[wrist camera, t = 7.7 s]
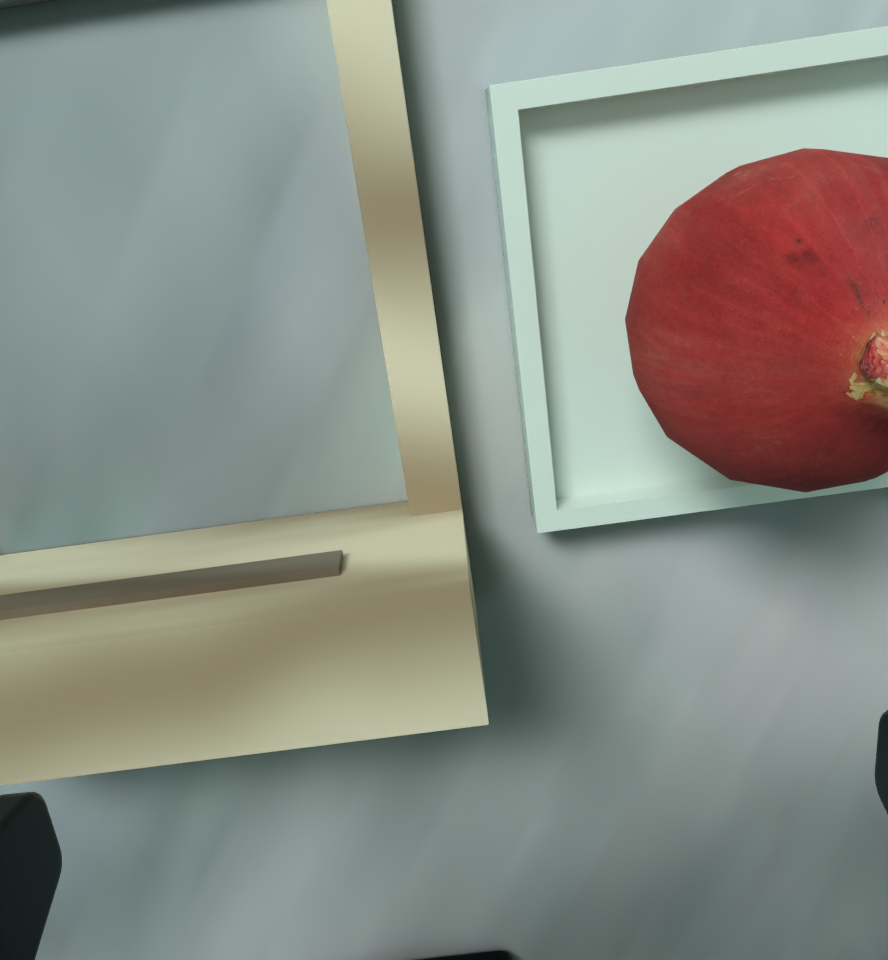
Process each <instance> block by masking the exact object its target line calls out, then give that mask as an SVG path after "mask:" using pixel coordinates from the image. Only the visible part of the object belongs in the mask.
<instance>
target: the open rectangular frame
mask: <svg viewBox="0 0 888 960" xmlns="http://www.w3.org/2000/svg"><path fill="white" fill-rule="evenodd" d="M46 1H53V0H0V9H1V8H7V7H14V6H20V5H27V4H33V3H40V2H46ZM326 2H327V8H328V14H329V20H330V26H331V32H332V39H333V45H334V51H335V57H336V63H337V69H338V75H339V81H340V87H341V93H342V100H343V106H344V112H345V118H346V124H347V130H348V136H349V142H350V148H351V155H352V161H353V167H354V173H355V179H356V185H357V191H358V197H359V203H360V209H361V216H362V222H363V228H364V234H365V240H366V246H367V252H368V258H369V264H370V271H371V277H372V283H373V289H374V295H375V301H376V307H377V313H378V319H379V325H380V332H381V338H382V344H383V350H384V356H385V362H386V368H387V374H388V380H389V387H390V393H391V399H392V405H393V411H394V417H395V423H396V429H397V435H398V441H399V448H400V454H401V460H402V466H403V472H404V478H405V484H406V490H407V496H408V501H404V502H396V503H389V504H381V505H374V506H366V507H359V508H351V509H344V510H337V511H329V512H322V513H314V514H307V515H299V516H292V517H284V518H277V519H269V520H262V521H254V522H247V523H239V524H232V525H224V526H217V527H209V528H202V529H194V530H187V531H179V532H172V533H164V534H157V535H149V536H142V537H134V538H127V539H119V540H112V541H104V542H97V543H89V544H82V545H74V546H67V547H59V548H52V549H44V550H37V551H30V552H22V553H15V554H7V555H0V786H1V785H9V784H17V783H25V782H33V781H41V780H49V779H57V778H65V777H73V776H81V775H89V774H97V773H105V772H113V771H121V770H129V769H137V768H145V767H153V766H161V765H169V764H177V763H185V762H193V761H201V760H209V759H217V758H225V757H234V756H242V755H250V754H258V753H266V752H274V751H282V750H290V749H298V748H306V747H314V746H322V745H330V744H338V743H346V742H354V741H362V740H370V739H378V738H386V737H394V736H402V735H410V734H418V733H426V732H434V731H442V730H450V729H458V728H466V727H474V726H482V725H489V721H488V711H487V702H486V693H485V683H484V674H483V665H482V655H481V646H480V637H479V627H478V618H477V609H476V600H475V593H474V586H473V579H472V571H471V564H470V557H469V550H468V543H467V536H466V529H465V521H464V514H463V507H462V500H461V493H460V486H459V478H458V471H457V464H456V457H455V450H454V443H453V435H452V428H451V421H450V414H449V407H448V400H447V393H446V385H445V378H444V371H443V364H442V357H441V350H440V342H439V335H438V328H437V321H436V314H435V307H434V300H433V292H432V285H431V278H430V271H429V264H428V257H427V249H426V242H425V235H424V228H423V221H422V214H421V206H420V199H419V192H418V185H417V178H416V171H415V164H414V156H413V149H412V142H411V135H410V128H409V121H408V113H407V106H406V99H405V92H404V85H403V78H402V70H401V63H400V56H399V49H398V42H397V35H396V28H395V20H394V13H393V6H392V0H326Z"/></svg>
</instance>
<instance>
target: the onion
mask: <svg viewBox="0 0 888 960" xmlns="http://www.w3.org/2000/svg"><path fill="white" fill-rule="evenodd" d="M625 324H626V330H627V337H628V344H629V350H630V357H631V363H632V370H633V375H634V378H635V380H636V383H637V386H638V389H639V391H640V392H641V394H642V396H643V397H644V399H645V401H646V402H647V404H648V406H649V407H650V409H651V411H652V413H653V414H654V416H655V418H656V419H657V421H658V423H659V424H660V426H661V428H662V429H663V431H664V433H665V435H666V436H667V437H668V438H669V439H671V440H672V441H674V442H675V443H676V444H678V445H679V446H681V447H682V448H684V449H685V450H687V451H688V452H690V453H691V454H693V455H694V456H696V457H697V458H698V459H700V460H701V461H703V462H704V463H706V464H707V465H709V466H710V467H712V468H713V469H715V470H716V471H718V472H719V473H720V474H722V475H723V476H725V477H726V478H728V479H729V480H734V481H740V482H746V483H752V484H758V485H764V486H770V487H776V488H782V489H788V490H794V491H800V492H811V491H816V490H822V489H827V488H832V487H838V486H843V485H849V484H854V483H860V482H865V481H868V480H871V479H874V478H877V477H879V476H881V475H883V474H884V473H886V472H888V158H886V157H878V156H871V155H863V154H856V153H848V152H841V151H834V150H826V149H810V148H803V149H799V150H795V151H792V152H788V153H784V154H781V155H777V156H774V157H770V158H766V159H763V160H759V161H755V162H752V163H748V164H745V165H741V166H738V167H737V168H735V169H733V170H731V171H729V172H727V173H725V174H724V175H722V176H721V177H719V178H718V179H717V180H715V181H714V182H712V183H711V184H710V185H708V186H707V187H705V188H704V189H702V190H701V191H700V192H698V193H697V194H695V195H694V196H693V197H691V198H690V199H688V200H687V201H686V202H684V203H683V204H681V205H680V206H678V207H677V208H676V209H674V211H673V212H672V214H671V215H670V217H669V218H668V219H667V221H666V222H665V224H664V225H663V226H662V228H661V229H660V231H659V232H658V234H657V235H656V236H655V238H654V239H653V241H652V242H651V244H650V245H649V246H648V248H647V249H646V251H645V252H644V253H643V255H642V256H641V258H640V259H639V261H638V264H637V269H636V273H635V278H634V282H633V286H632V291H631V295H630V299H629V304H628V308H627V313H626V317H625Z"/></svg>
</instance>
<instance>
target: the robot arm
mask: <svg viewBox="0 0 888 960" xmlns="http://www.w3.org/2000/svg"><path fill="white" fill-rule="evenodd" d="M875 783H876V787H877V791H878V794H879V797H880V799H881V801H882V803H883V805H884V808H885V810H886V812H887V814H888V710H887V711H886V712H884V713H883V714H882V716H881V718H880V722H879V729H878V741H877V752H876V764H875ZM61 867H62V855H61V849H60V846H59V843H58V840H57V837H56V833H55V830H54V827H53V824H52V821H51V818H50V815H49V812H48V809H47V805H46V803H45V801H44V799H43V797H42V796H41V795H40V794H38V793H35V792H25V793H14V794H5V795H0V960H35V957H36V954H37V951H38V947H39V944H40V941H41V937H42V934H43V931H44V927H45V924H46V921H47V918H48V914H49V911H50V908H51V904H52V901H53V898H54V894H55V891H56V888H57V885H58V881H59V878H60V874H61ZM424 960H513V957H512V956H511V955H509V954H508V953H506V952H503V951H493V952H484V953H476V954H467V955H458V956H450V957H441V958H433V959H424Z"/></svg>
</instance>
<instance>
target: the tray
mask: <svg viewBox="0 0 888 960" xmlns="http://www.w3.org/2000/svg"><path fill="white" fill-rule="evenodd" d="M485 91H486V100H487V109H488V119H489V128H490V137H491V146H492V155H493V164H494V174H495V183H496V192H497V201H498V210H499V220H500V229H501V238H502V247H503V256H504V265H505V275H506V284H507V293H508V302H509V311H510V321H511V330H512V339H513V348H514V357H515V367H516V376H517V385H518V394H519V403H520V412H521V422H522V431H523V440H524V449H525V458H526V468H527V477H528V486H529V495H530V504H531V513H532V517H533V520H534V524H535V527H536V530H537V533H544V532H551V531H559V530H566V529H574V528H582V527H589V526H597V525H604V524H612V523H619V522H627V521H635V520H642V519H650V518H657V517H665V516H673V515H680V514H688V513H695V512H703V511H711V510H718V509H726V508H733V507H741V506H749V505H756V504H764V503H771V502H779V501H787V500H794V499H802V498H809V497H817V496H825V495H832V494H840V493H847V492H855V491H863V490H870V489H878V488H885V487H888V472H886V473H884V474H883V475H881V476H879V477H877V478H874V479H871V480H868V481H865V482H860V483H854V484H849V485H843V486H838V487H832V488H827V489H822V490H816V491H811V492H800V491H794V490H788V489H782V488H776V487H770V486H764V485H758V484H752V483H746V482H740V481H734V480H729V479H728V478H726V477H725V476H723V475H722V474H720V473H719V472H718V471H716V470H715V469H713V468H712V467H710V466H709V465H707V464H706V463H704V462H703V461H701V460H700V459H698V458H697V457H696V456H694V455H693V454H691V453H690V452H688V451H687V450H685V449H684V448H682V447H681V446H679V445H678V444H676V443H675V442H674V441H672V440H671V439H669V438H668V437H667V436H666V435H665V433H664V431H663V429H662V428H661V426H660V424H659V423H658V421H657V419H656V418H655V416H654V414H653V413H652V411H651V409H650V407H649V406H648V404H647V402H646V401H645V399H644V397H643V396H642V394H641V392H640V391H639V389H638V386H637V383H636V380H635V378H634V375H633V370H632V363H631V357H630V350H629V344H628V337H627V330H626V324H625V317H626V313H627V308H628V304H629V299H630V295H631V291H632V286H633V282H634V278H635V273H636V269H637V264H638V261H639V259H640V258H641V256H642V255H643V253H644V252H645V251H646V249H647V248H648V246H649V245H650V244H651V242H652V241H653V239H654V238H655V236H656V235H657V234H658V232H659V231H660V229H661V228H662V226H663V225H664V224H665V222H666V221H667V219H668V218H669V217H670V215H671V214H672V212H673V211H674V209H676V208H677V207H678V206H680V205H681V204H683V203H684V202H686V201H687V200H688V199H690V198H691V197H693V196H694V195H695V194H697V193H698V192H700V191H701V190H702V189H704V188H705V187H707V186H708V185H710V184H711V183H712V182H714V181H715V180H717V179H718V178H719V177H721V176H722V175H724V174H725V173H727V172H729V171H731V170H733V169H735V168H737V167H738V166H741V165H745V164H748V163H752V162H755V161H759V160H763V159H766V158H770V157H774V156H777V155H781V154H784V153H788V152H792V151H795V150H799V149H803V148H810V149H826V150H834V151H841V152H848V153H856V154H863V155H871V156H878V157H886V158H888V26H884V27H877V28H870V29H863V30H857V31H850V32H843V33H837V34H830V35H823V36H816V37H810V38H803V39H796V40H790V41H783V42H776V43H770V44H763V45H756V46H749V47H743V48H736V49H729V50H723V51H716V52H709V53H702V54H696V55H689V56H682V57H676V58H669V59H662V60H655V61H649V62H642V63H635V64H629V65H622V66H615V67H608V68H602V69H595V70H588V71H582V72H575V73H568V74H562V75H555V76H548V77H541V78H535V79H528V80H521V81H515V82H508V83H501V84H494V85H489V86H488V88H487V89H486V90H485Z"/></svg>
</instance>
